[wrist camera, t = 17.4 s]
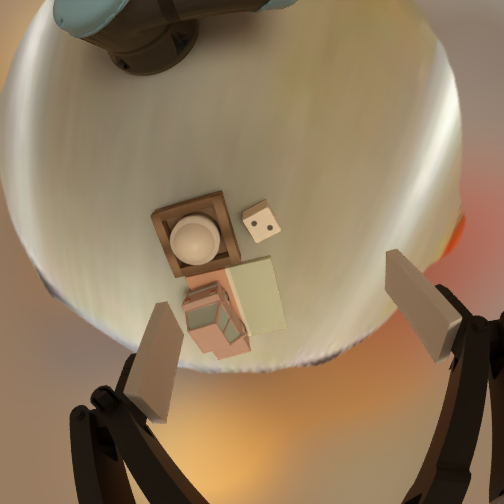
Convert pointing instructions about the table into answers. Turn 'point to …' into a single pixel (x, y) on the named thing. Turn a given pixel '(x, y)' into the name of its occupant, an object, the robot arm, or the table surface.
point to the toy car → (215, 322)
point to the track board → (248, 293)
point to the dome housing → (208, 205)
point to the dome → (195, 238)
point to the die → (260, 221)
